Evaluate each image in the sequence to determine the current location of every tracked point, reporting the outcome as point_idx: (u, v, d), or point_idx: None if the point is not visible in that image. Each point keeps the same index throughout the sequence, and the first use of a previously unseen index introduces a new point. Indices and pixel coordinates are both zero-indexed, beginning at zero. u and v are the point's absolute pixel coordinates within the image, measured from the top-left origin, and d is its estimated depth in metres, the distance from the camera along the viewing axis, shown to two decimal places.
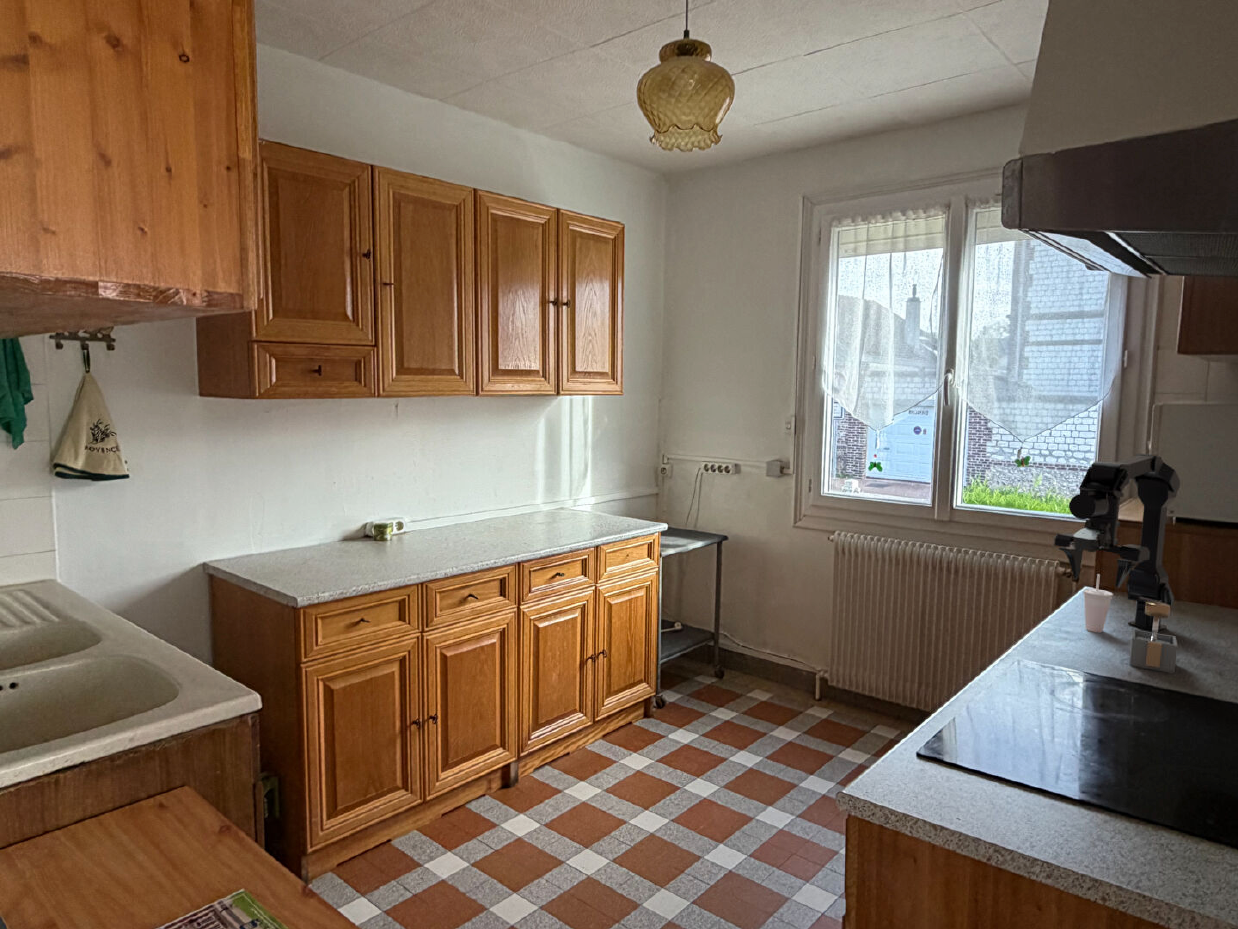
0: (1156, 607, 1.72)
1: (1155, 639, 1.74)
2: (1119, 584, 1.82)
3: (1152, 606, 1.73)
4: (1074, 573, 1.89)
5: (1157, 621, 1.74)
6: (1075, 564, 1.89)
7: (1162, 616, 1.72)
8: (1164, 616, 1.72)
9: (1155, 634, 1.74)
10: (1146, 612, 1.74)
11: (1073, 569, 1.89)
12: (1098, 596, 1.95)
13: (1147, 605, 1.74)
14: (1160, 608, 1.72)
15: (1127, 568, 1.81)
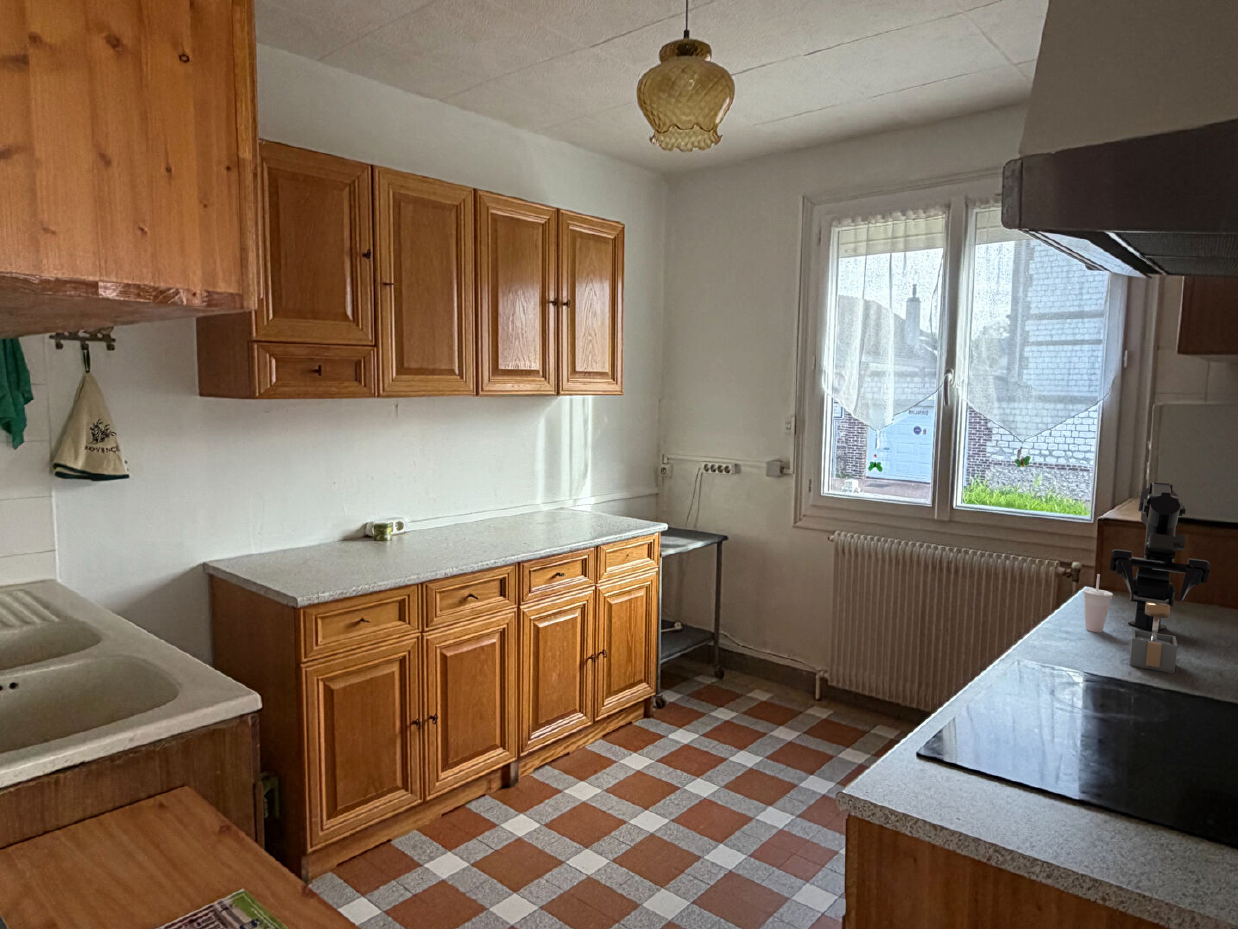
0: (1156, 607, 1.72)
1: (1155, 639, 1.74)
2: (1183, 596, 1.78)
3: (1152, 606, 1.73)
4: (1132, 586, 1.83)
5: (1157, 621, 1.74)
6: (1132, 578, 1.84)
7: (1162, 616, 1.72)
8: (1164, 616, 1.72)
9: (1155, 634, 1.74)
10: (1146, 612, 1.74)
11: (1131, 582, 1.83)
12: (1098, 596, 1.95)
13: (1147, 605, 1.74)
14: (1160, 608, 1.72)
15: None
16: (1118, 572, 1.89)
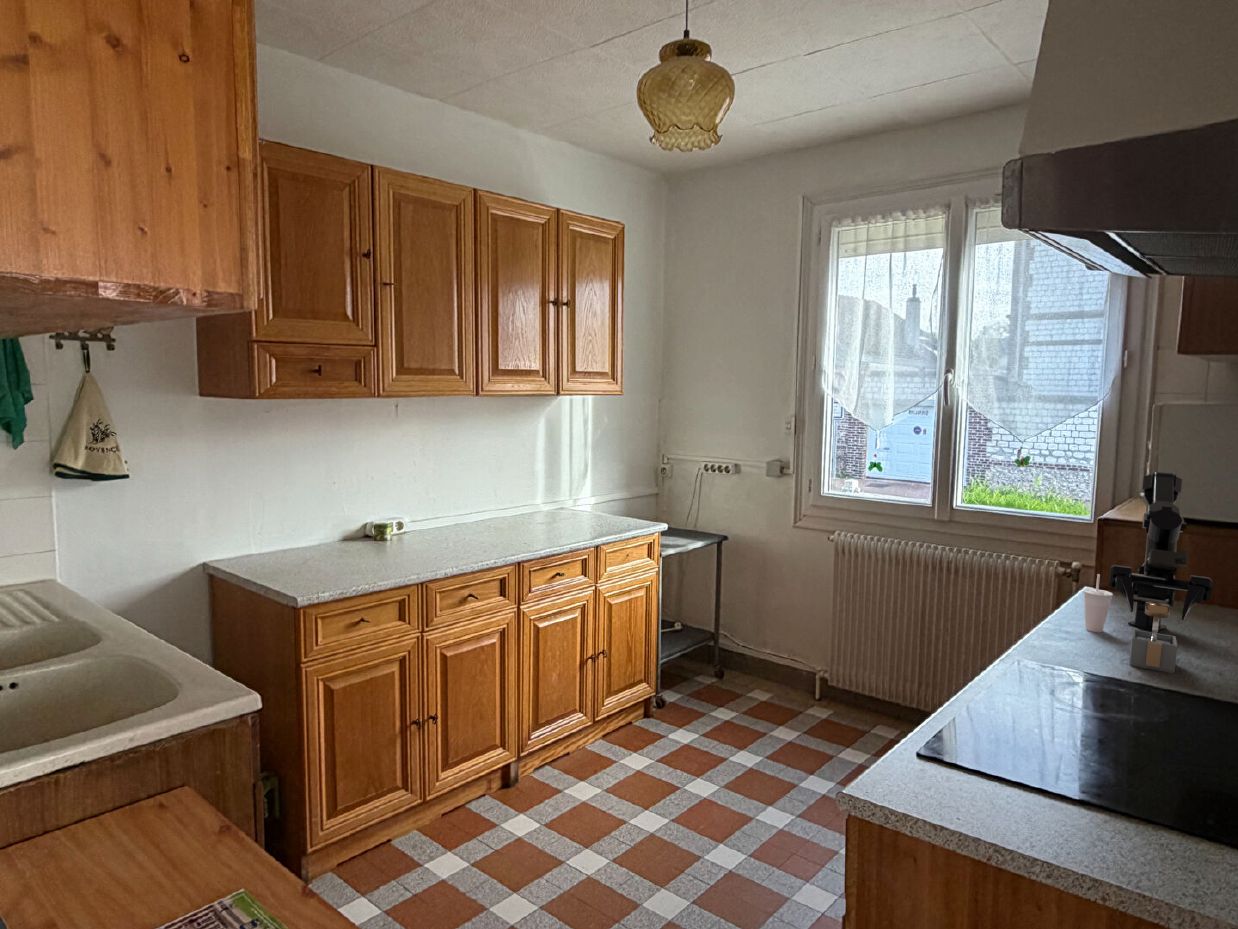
0: (1156, 607, 1.72)
1: (1155, 639, 1.74)
2: (1185, 615, 1.71)
3: (1152, 606, 1.73)
4: (1131, 604, 1.76)
5: (1157, 621, 1.74)
6: (1132, 596, 1.77)
7: (1162, 616, 1.72)
8: (1164, 616, 1.72)
9: (1155, 634, 1.74)
10: (1146, 612, 1.74)
11: (1130, 600, 1.76)
12: (1098, 596, 1.95)
13: (1147, 605, 1.74)
14: (1160, 608, 1.72)
15: None
16: (1117, 588, 1.82)
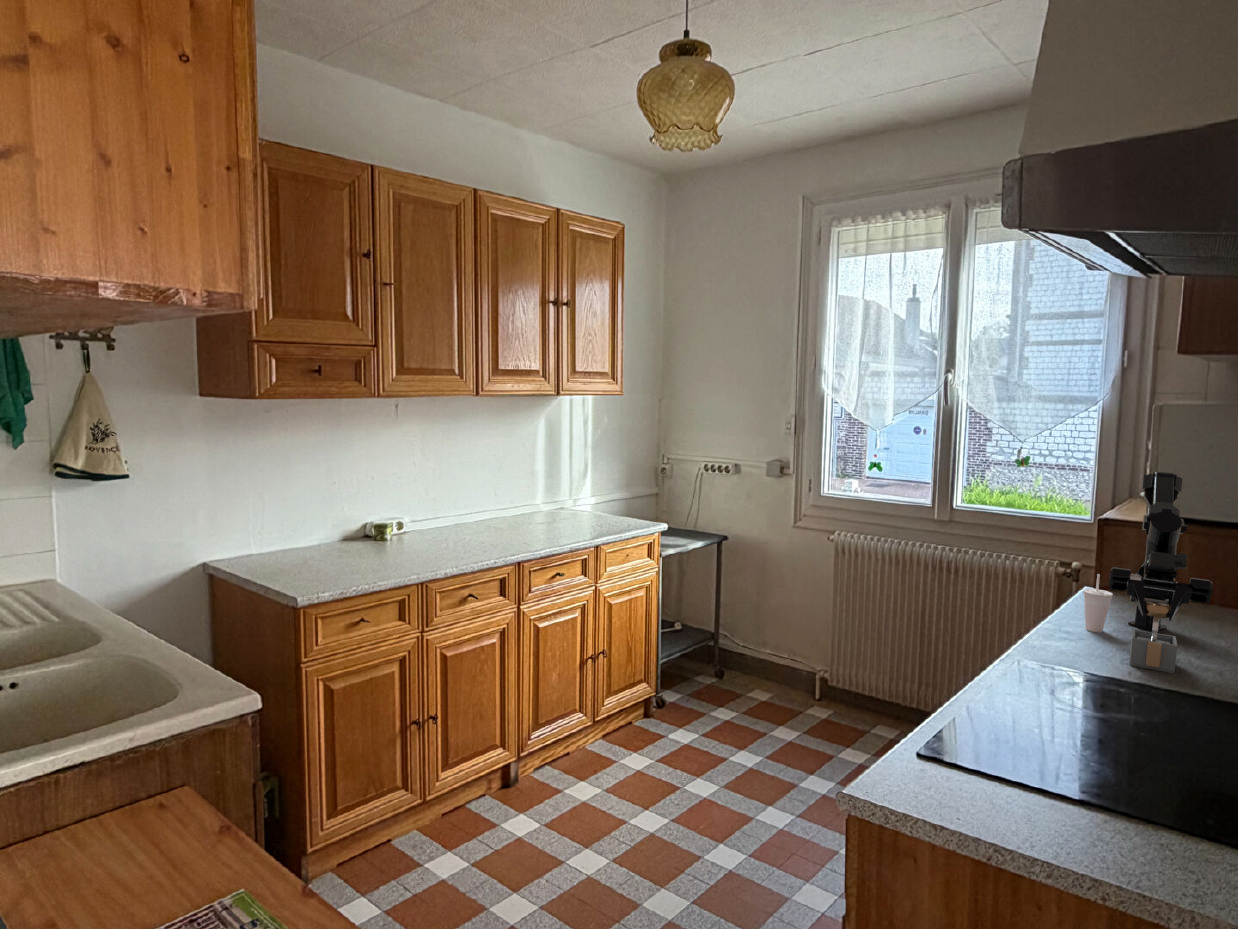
0: (1156, 607, 1.72)
1: (1155, 639, 1.74)
2: (1173, 616, 1.72)
3: (1152, 606, 1.73)
4: (1143, 608, 1.74)
5: (1157, 621, 1.74)
6: (1144, 600, 1.75)
7: (1162, 616, 1.72)
8: (1164, 616, 1.72)
9: (1155, 634, 1.74)
10: (1146, 612, 1.74)
11: (1142, 604, 1.75)
12: (1098, 596, 1.95)
13: (1147, 605, 1.74)
14: (1160, 608, 1.72)
15: (1177, 604, 1.74)
16: (1128, 592, 1.80)
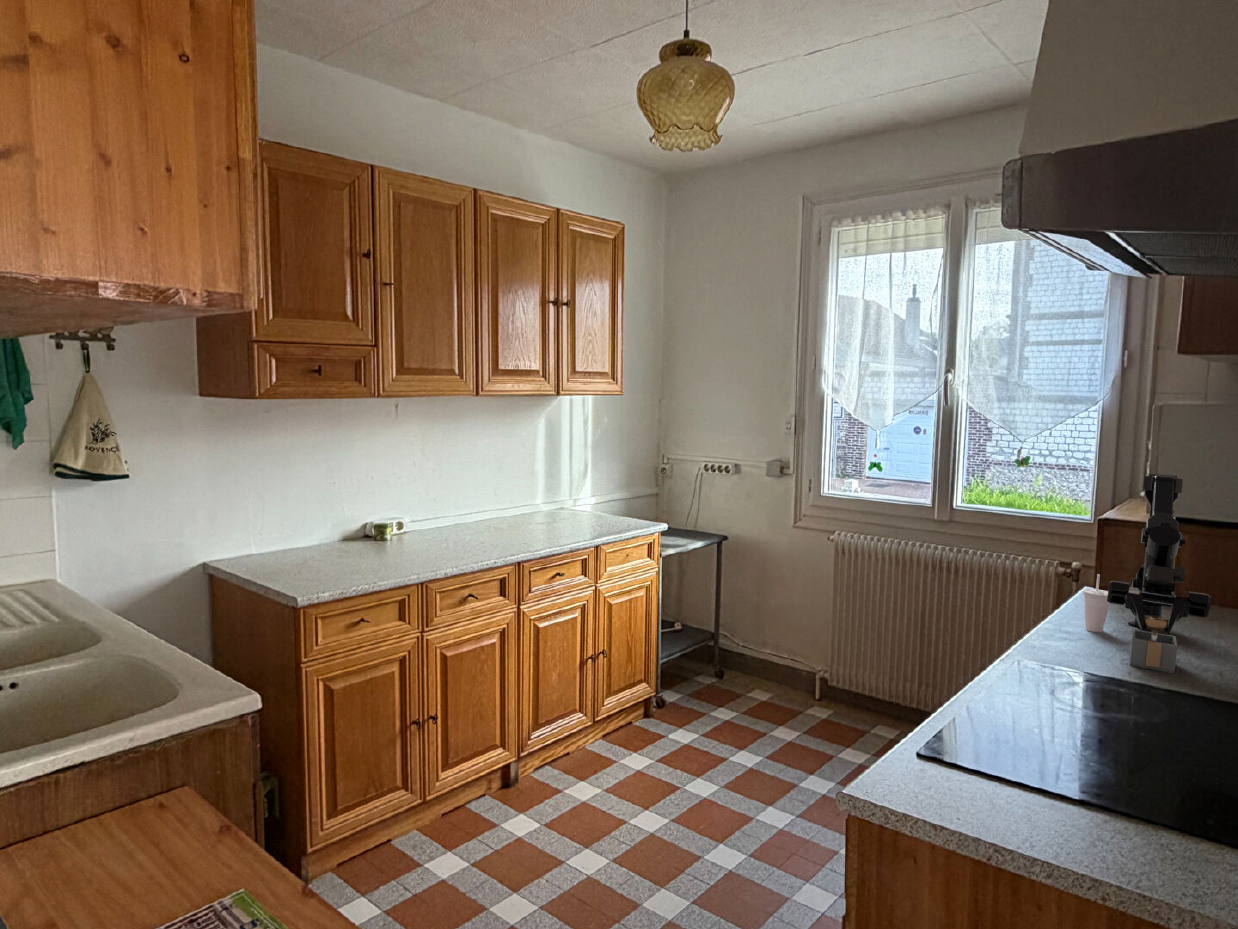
0: (1154, 621, 1.72)
1: None
2: (1171, 630, 1.72)
3: (1150, 620, 1.73)
4: (1142, 622, 1.75)
5: (1155, 635, 1.74)
6: (1143, 614, 1.76)
7: (1160, 630, 1.72)
8: (1162, 630, 1.72)
9: None
10: (1144, 626, 1.74)
11: (1141, 618, 1.75)
12: (1098, 596, 1.95)
13: (1145, 619, 1.74)
14: (1158, 622, 1.72)
15: None
16: (1127, 606, 1.80)
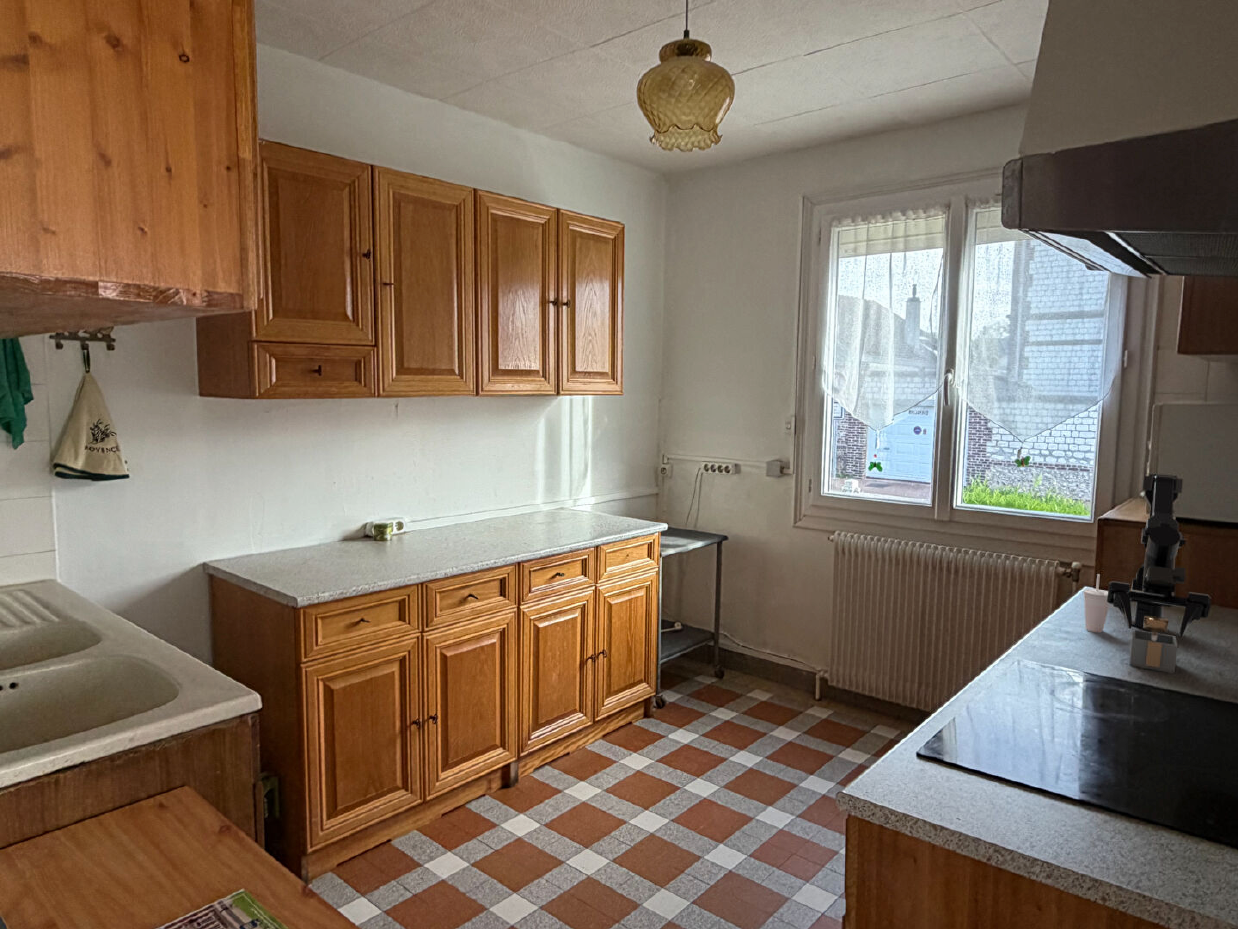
0: (1154, 622, 1.72)
1: None
2: (1183, 632, 1.71)
3: (1150, 621, 1.73)
4: (1130, 621, 1.76)
5: (1155, 635, 1.74)
6: (1130, 612, 1.77)
7: (1160, 631, 1.72)
8: (1162, 631, 1.72)
9: None
10: (1144, 626, 1.74)
11: (1129, 616, 1.76)
12: (1098, 596, 1.95)
13: (1145, 619, 1.74)
14: (1158, 623, 1.72)
15: (1188, 620, 1.73)
16: (1115, 604, 1.82)
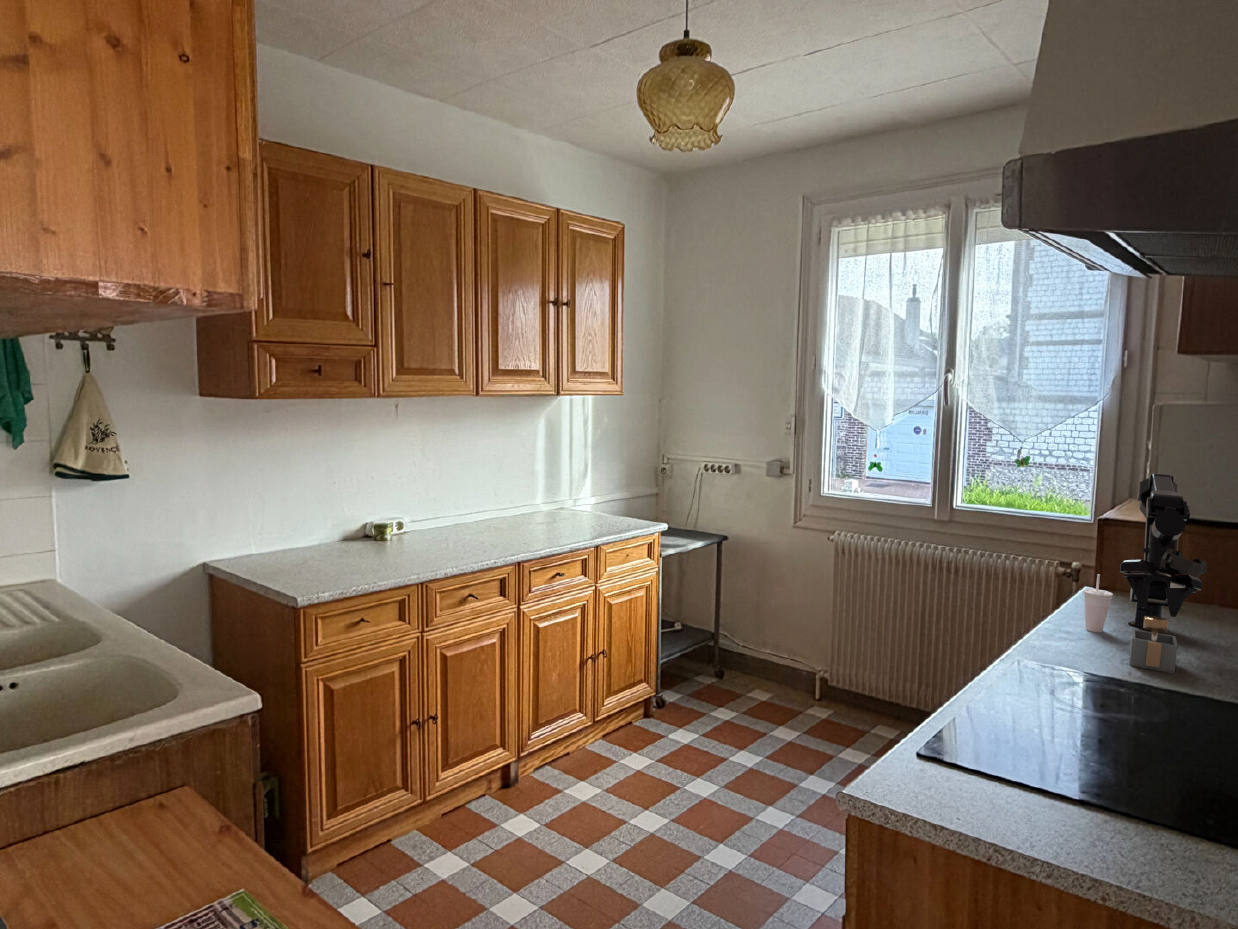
0: (1154, 622, 1.72)
1: None
2: None
3: (1150, 621, 1.73)
4: (1146, 602, 1.82)
5: (1155, 635, 1.74)
6: None
7: (1160, 631, 1.72)
8: (1162, 631, 1.72)
9: None
10: (1144, 626, 1.74)
11: (1146, 597, 1.82)
12: (1098, 596, 1.95)
13: (1145, 619, 1.74)
14: (1158, 623, 1.72)
15: None
16: (1128, 576, 1.85)
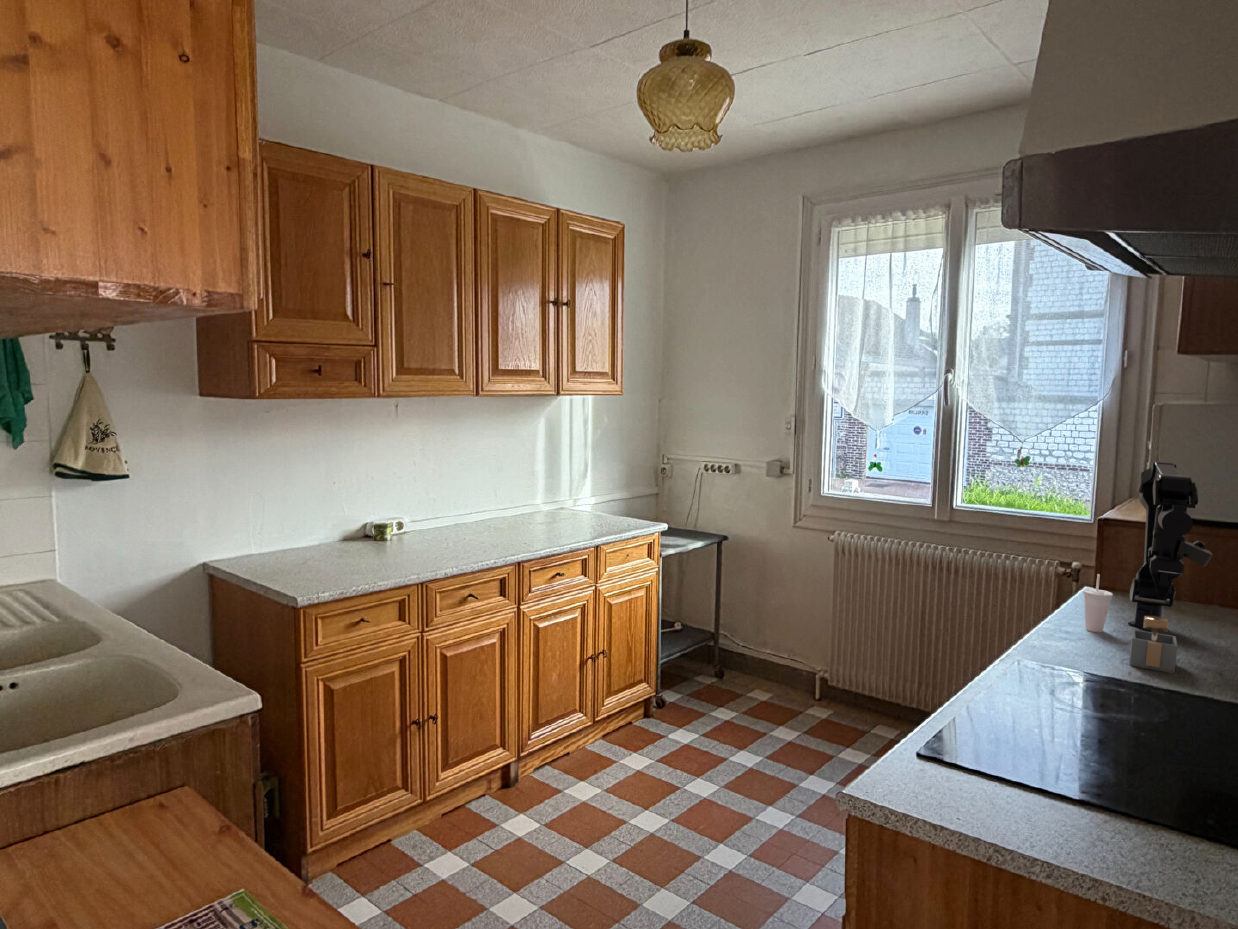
0: (1154, 622, 1.72)
1: None
2: None
3: (1150, 621, 1.73)
4: (1166, 594, 1.83)
5: (1155, 635, 1.74)
6: None
7: (1160, 631, 1.72)
8: (1162, 631, 1.72)
9: None
10: (1144, 626, 1.74)
11: (1168, 590, 1.83)
12: (1098, 596, 1.95)
13: (1145, 619, 1.74)
14: (1158, 623, 1.72)
15: None
16: (1156, 572, 1.81)
